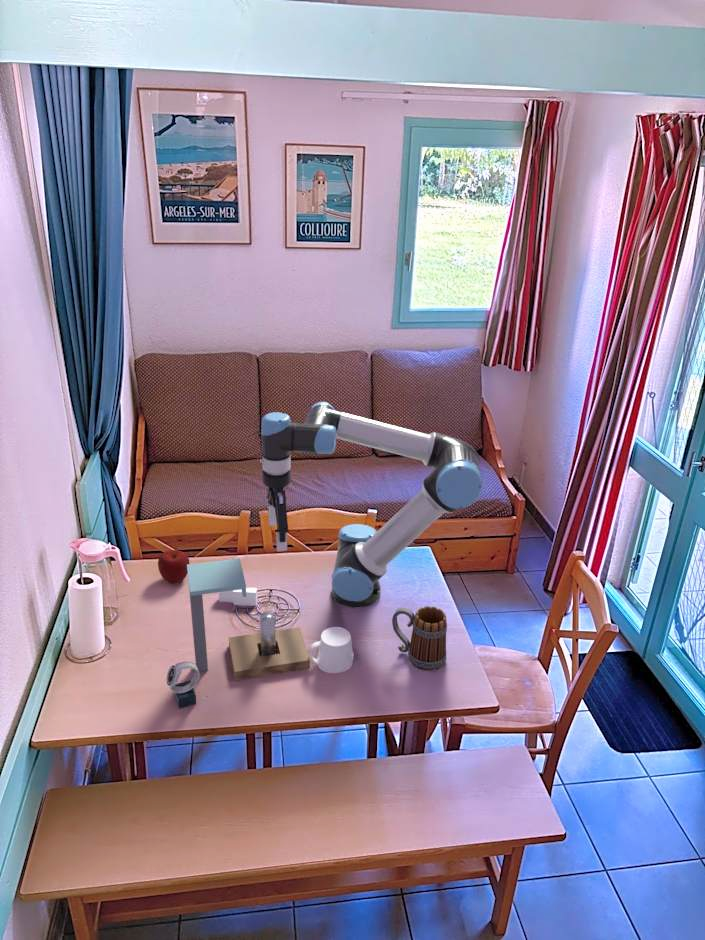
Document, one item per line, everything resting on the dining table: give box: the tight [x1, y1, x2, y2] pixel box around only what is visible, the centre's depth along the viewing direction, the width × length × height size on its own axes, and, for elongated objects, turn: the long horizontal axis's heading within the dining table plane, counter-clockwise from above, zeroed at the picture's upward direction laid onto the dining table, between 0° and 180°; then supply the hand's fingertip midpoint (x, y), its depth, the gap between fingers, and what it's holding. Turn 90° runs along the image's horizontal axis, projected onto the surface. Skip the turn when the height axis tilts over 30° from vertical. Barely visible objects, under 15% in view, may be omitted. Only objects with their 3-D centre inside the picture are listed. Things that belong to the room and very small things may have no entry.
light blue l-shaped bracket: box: [187, 558, 247, 673], centre depth 189 cm, size 14×12×29 cm
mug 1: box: [308, 626, 354, 674], centre depth 195 cm, size 12×9×8 cm
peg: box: [259, 610, 277, 657], centre depth 196 cm, size 4×4×14 cm
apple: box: [157, 549, 190, 585], centre depth 227 cm, size 10×10×10 cm
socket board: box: [228, 627, 311, 682], centre depth 198 cm, size 20×14×3 cm
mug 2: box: [391, 605, 448, 672], centre depth 197 cm, size 16×11×15 cm
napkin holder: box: [218, 587, 258, 607], centre depth 220 cm, size 15×11×6 cm
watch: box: [166, 661, 201, 709], centre depth 181 cm, size 6×8×11 cm
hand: (277, 537), depth 204 cm, fingers open, 13 cm apart
